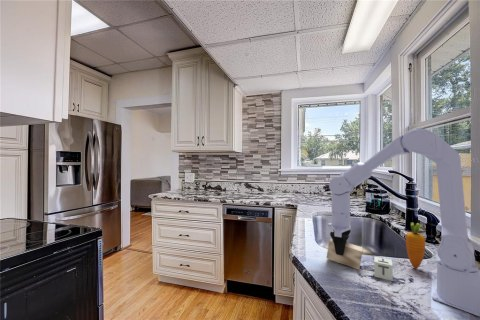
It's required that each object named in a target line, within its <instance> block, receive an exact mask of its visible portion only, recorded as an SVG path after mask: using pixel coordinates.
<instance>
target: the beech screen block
mask: <svg viewBox="0 0 480 320" xmlns="http://www.w3.org/2000/svg"><path fill="white" fill-rule="evenodd" d="M363 250H364V249H363V247H362V246H359V245H356V244H353V243H349V242H346V244H345V250H344V254H343V256H342V255H337V254H336V251H335V247H334V242H333V240H332V238H331V237H330V239H329V240H328V246H327V252H326V253H327V254H326V259H327V260H330V261H332V262H335V263H339V264H341V265H345V266H347V267H351V268H353V269H355V270H358V271H360V268H361V261H362V257H363Z"/></svg>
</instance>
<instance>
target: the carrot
mask: <svg viewBox="0 0 480 320" xmlns="http://www.w3.org/2000/svg"><path fill="white" fill-rule="evenodd" d="M421 228H423V225H420V223H418V222H417V223H414V222H410V229H411V231H410V232H408V233H406V234H405V248H406V252H407V257H408V259H409V262H410V265H411V266H412V267H413V269H415V270H417V269H418V268H419V267H420V265H421V264H422V263H423V260H424V257H425V253H426V252H425V251H426V237H425V236H424V235H422V234H421V231H422V230H421Z"/></svg>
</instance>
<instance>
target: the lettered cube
mask: <svg viewBox="0 0 480 320" xmlns="http://www.w3.org/2000/svg"><path fill="white" fill-rule="evenodd" d="M373 259H374V260H373V261H374V263H373V264H374V265H373V266H374V273H373V274H374V278H378V279H383V280H388V281H393V279H394V277H393V274H394V273H393V260H392V259H390V258H384V257H380V256H374V257H373Z"/></svg>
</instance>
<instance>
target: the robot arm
mask: <svg viewBox="0 0 480 320" xmlns="http://www.w3.org/2000/svg"><path fill="white" fill-rule="evenodd" d="M411 153H414V154H418V155H421V156H424V157H425V158H426V159H428V160H430V161H431V162H433V163H435V165H436V174H437V175H436V176H437V178H436V179H437V186H438V199H439V211H440V224H441V235H440V236H441V237H440V238H441V240H440V244H439V246H438V248H437V255H438V257H436V290H435V291H434V292H433V295H432V296H431V299H432V300H434V301H437V302H440V303H442V304H445V305H447V306H450V307H453V308H455V309H458V310H462V311H463V312H466V313H469V314H472V315H475V316H477V317H480V269H478V268H479V267H478V266H477V265H476V264H475V262H476V258H475V250H476V249H475V245H474V243H473V242H472V241H471V239H470V238H469V234H468V232H469V231H468V226H467V215H466V206H465V205H466V204H465V195H464V194H465V193H464V184H463V183H464V181H463V171H462V161H461V155H460V153H459V152H458V151H457V150H455V148H453V147H452V145H450V144H449V143H448V142H446V140H444V139H443V138H442V137H441V136H439V135H438V134H437V133H436V132H433V131H431V130H428V129H425V128H423V127H415V128H410V129H409V130H407V131H406V132H405V133H404V135H403V134H402V135H399V136H397V137H395V138H394V139H393V140H392V141H391V142H389V143H388V144H387V145H385V146H384V147H383V148H382V149H380V150H379V151H377V153H375V154H373V155H372V156H371V157H370V158H369V159H368V160H366V161H365V162H360V161H359V162H358V161H357V163H355V162H354V163H352V164H351V165H350V168H349V169H347V170H346V171H344V172H340V173H339V176H334V177H332V179H331V180H330V181H329V184H328V188H329V190H330V192H331V222H328V223H327V226H328V227H331V228H332V230H333V231H330V232H329V236H330V239H331V238H332V240H333V242H334V247H335V251H336V254H337V255H342V256H343V254H344V250H345V244H346V243H348V240H349V238H350V234H351V231H352V230H351V229H352V228H351V227H352V226H351V192H352V191H353V190H354V188H355V187H358V186H359V185H360V184H362V183H364V182H365V181H366V180H368V179H369V178H371V177H372V173H373V171H374V170H376V169H377V168H379V167H380V166H381V165H383V164H385V163H387V162H388V161H390V160H391V159H393V158H395V157H396V156H401V155H408V154H411Z"/></svg>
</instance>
